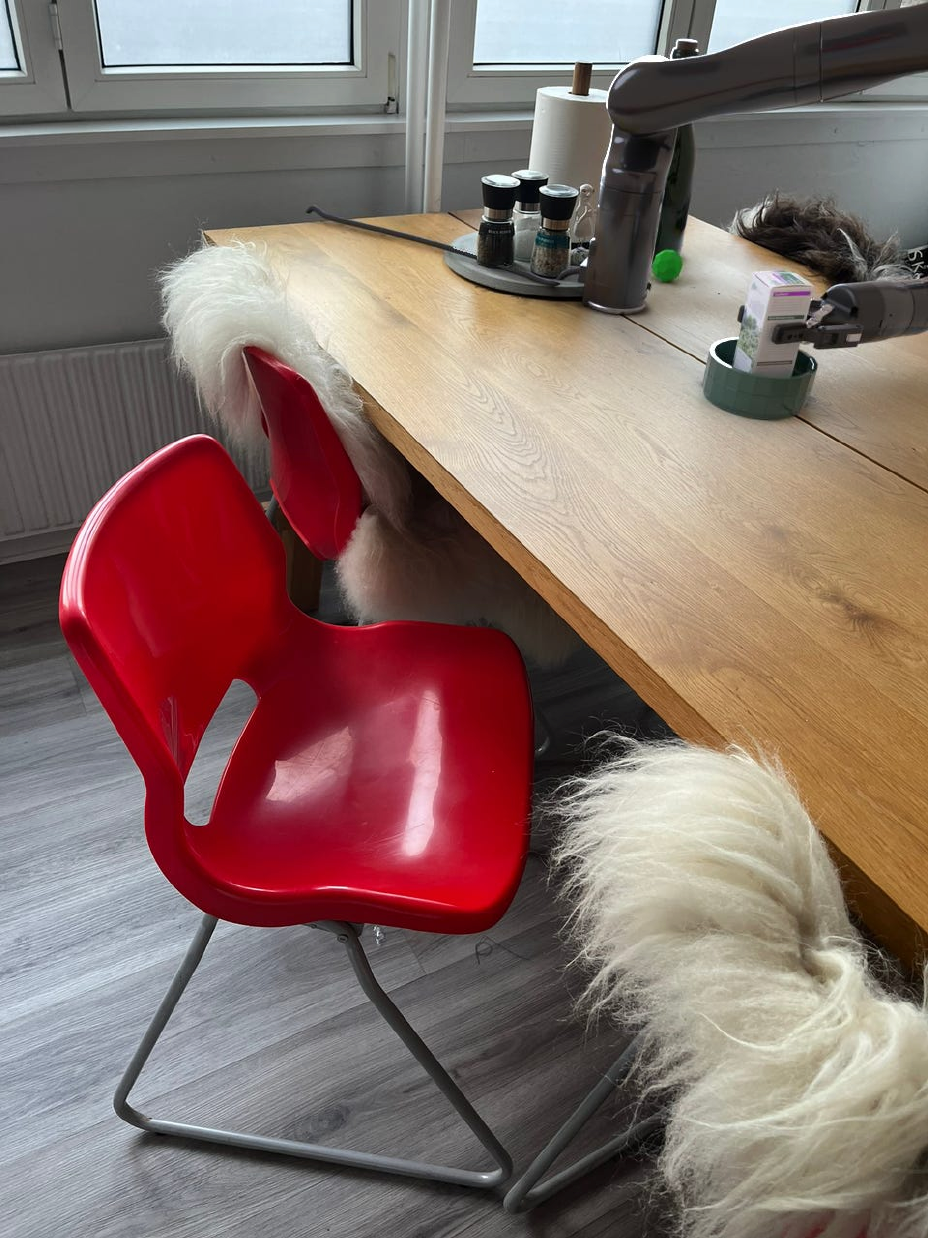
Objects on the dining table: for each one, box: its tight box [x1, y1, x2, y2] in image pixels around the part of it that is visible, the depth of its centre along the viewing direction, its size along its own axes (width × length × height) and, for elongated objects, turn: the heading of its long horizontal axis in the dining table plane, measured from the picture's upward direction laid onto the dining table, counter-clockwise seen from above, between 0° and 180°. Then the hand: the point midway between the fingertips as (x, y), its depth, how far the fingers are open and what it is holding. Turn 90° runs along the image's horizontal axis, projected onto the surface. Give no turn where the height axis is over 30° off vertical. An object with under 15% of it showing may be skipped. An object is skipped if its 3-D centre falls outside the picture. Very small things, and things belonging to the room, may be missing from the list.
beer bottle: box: [652, 38, 700, 262], centre depth 159 cm, size 10×10×33 cm
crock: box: [701, 336, 819, 421], centre depth 119 cm, size 13×13×6 cm
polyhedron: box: [651, 250, 684, 283], centre depth 156 cm, size 5×5×5 cm
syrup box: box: [732, 269, 815, 377], centre depth 116 cm, size 6×6×14 cm
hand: (757, 324), depth 114 cm, fingers closed on syrup box, 6 cm apart
